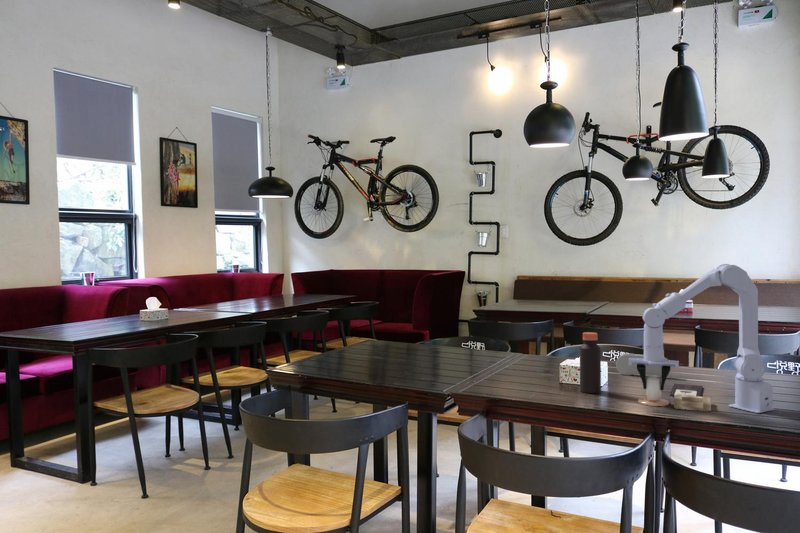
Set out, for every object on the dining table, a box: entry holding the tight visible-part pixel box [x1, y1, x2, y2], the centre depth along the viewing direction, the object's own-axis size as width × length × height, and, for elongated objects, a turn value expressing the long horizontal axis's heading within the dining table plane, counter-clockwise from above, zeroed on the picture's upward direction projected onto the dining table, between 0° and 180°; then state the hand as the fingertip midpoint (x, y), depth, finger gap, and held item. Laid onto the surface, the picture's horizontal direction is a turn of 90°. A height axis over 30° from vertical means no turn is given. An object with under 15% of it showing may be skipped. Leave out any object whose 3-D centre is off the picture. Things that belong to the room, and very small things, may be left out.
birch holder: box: [673, 395, 712, 412], centre depth 191 cm, size 10×10×2 cm
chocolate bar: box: [669, 383, 703, 398], centre depth 209 cm, size 9×1×18 cm
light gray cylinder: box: [645, 375, 662, 400], centre depth 195 cm, size 4×4×7 cm
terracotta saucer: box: [637, 397, 670, 407], centre depth 195 cm, size 9×9×1 cm
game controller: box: [615, 352, 672, 379], centre depth 235 cm, size 20×2×8 cm, turn 63°
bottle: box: [579, 331, 602, 394], centre depth 211 cm, size 7×7×20 cm
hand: (653, 389), depth 195 cm, fingers open, 4 cm apart
